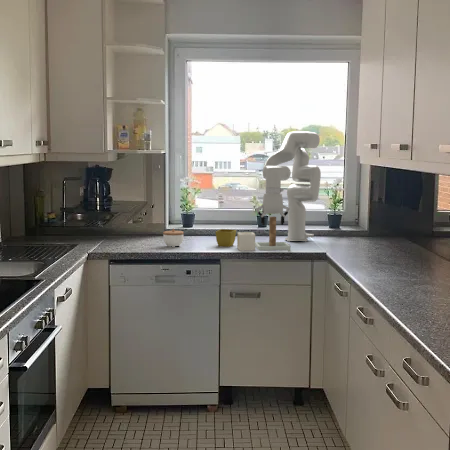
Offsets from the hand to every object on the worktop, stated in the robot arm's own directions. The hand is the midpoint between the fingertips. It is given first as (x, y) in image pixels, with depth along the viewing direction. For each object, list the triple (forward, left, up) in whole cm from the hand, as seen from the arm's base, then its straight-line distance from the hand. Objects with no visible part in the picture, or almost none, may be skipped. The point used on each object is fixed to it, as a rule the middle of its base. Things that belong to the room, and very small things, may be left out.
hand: (272, 224), depth 325 cm
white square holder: (+14, +4, -13) cm, 19 cm away
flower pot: (+23, -8, -13) cm, 28 cm away
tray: (0, 0, -13) cm, 13 cm away
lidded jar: (+50, -14, -13) cm, 54 cm away
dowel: (0, 0, -12) cm, 12 cm away
